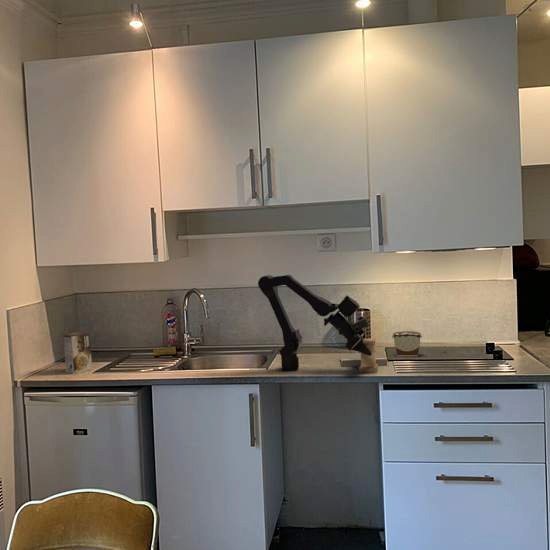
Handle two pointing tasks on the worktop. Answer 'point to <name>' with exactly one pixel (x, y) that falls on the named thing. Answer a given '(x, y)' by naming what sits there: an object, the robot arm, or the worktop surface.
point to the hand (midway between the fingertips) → (371, 353)
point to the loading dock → (356, 359)
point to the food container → (407, 342)
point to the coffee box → (77, 352)
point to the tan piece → (368, 357)
